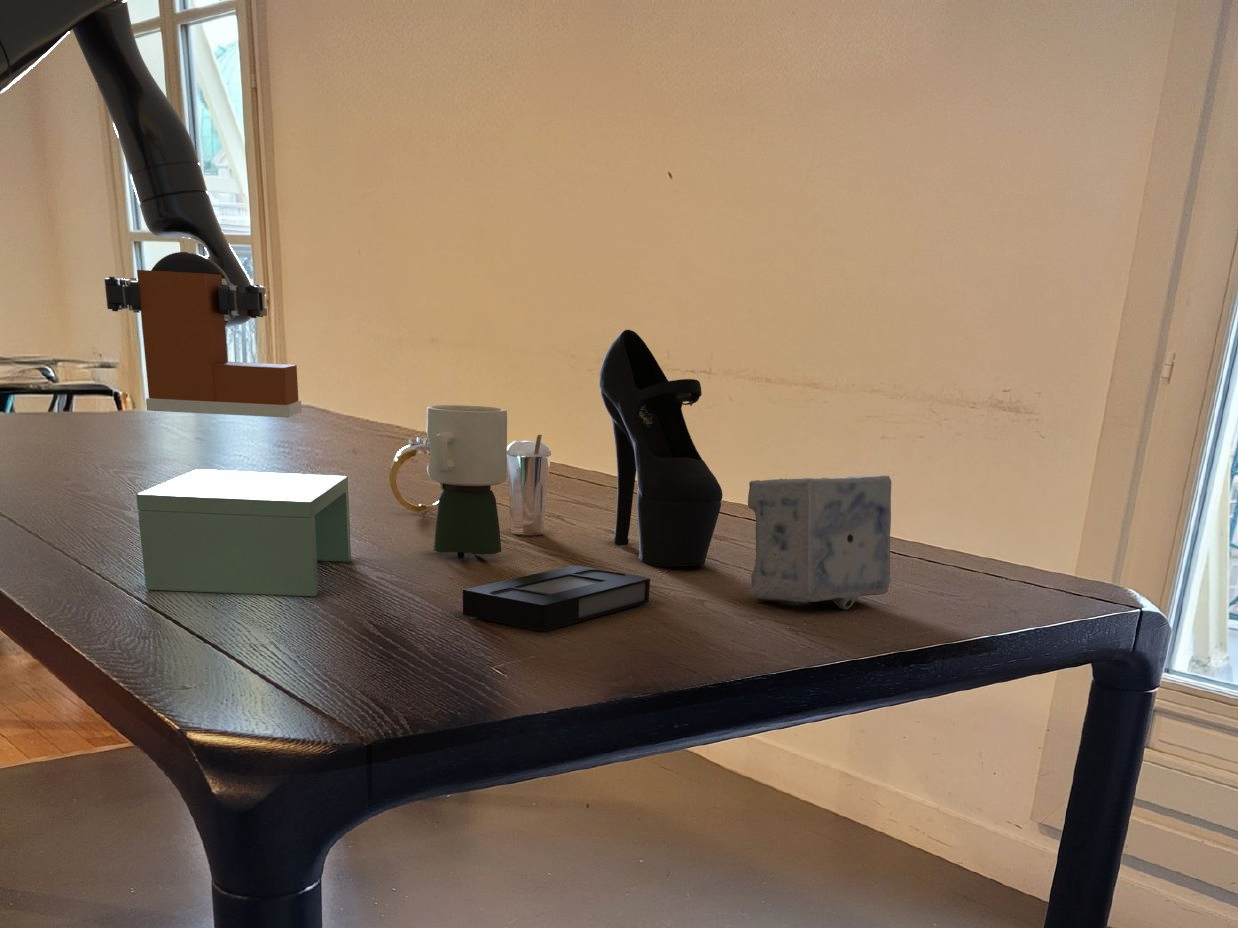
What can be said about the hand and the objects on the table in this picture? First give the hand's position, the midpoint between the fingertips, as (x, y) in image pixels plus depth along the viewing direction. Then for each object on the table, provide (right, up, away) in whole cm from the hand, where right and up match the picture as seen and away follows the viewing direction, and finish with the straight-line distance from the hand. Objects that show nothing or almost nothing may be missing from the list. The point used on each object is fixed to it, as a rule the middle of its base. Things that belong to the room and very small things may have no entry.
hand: (179, 298), depth 106 cm
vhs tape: (+32, -27, -7) cm, 43 cm away
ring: (+15, -9, +34) cm, 38 cm away
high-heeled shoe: (+40, -18, +17) cm, 47 cm away
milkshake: (+27, -14, +25) cm, 39 cm away
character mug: (+22, -19, +12) cm, 32 cm away
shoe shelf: (+6, -23, 0) cm, 24 cm away
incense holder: (+53, -25, +1) cm, 59 cm away
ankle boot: (+2, -7, +6) cm, 10 cm away
